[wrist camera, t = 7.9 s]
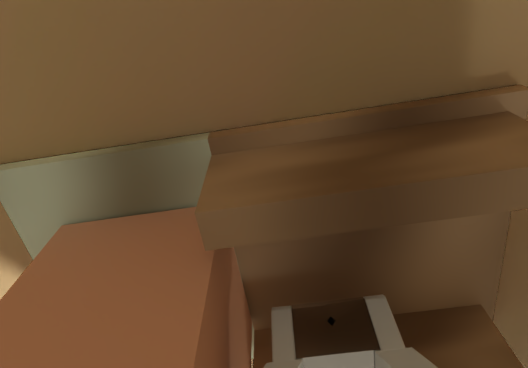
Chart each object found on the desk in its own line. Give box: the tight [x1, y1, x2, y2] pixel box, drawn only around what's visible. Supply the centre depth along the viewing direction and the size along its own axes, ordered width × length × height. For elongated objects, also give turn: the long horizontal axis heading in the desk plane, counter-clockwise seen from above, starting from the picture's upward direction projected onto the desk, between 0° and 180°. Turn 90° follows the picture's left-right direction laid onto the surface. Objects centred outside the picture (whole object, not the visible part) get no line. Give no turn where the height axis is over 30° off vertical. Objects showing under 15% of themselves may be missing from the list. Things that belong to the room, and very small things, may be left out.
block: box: [0, 207, 252, 368], centre depth 10 cm, size 5×5×6 cm
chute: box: [0, 85, 528, 368], centre depth 11 cm, size 15×9×4 cm, turn 99°
